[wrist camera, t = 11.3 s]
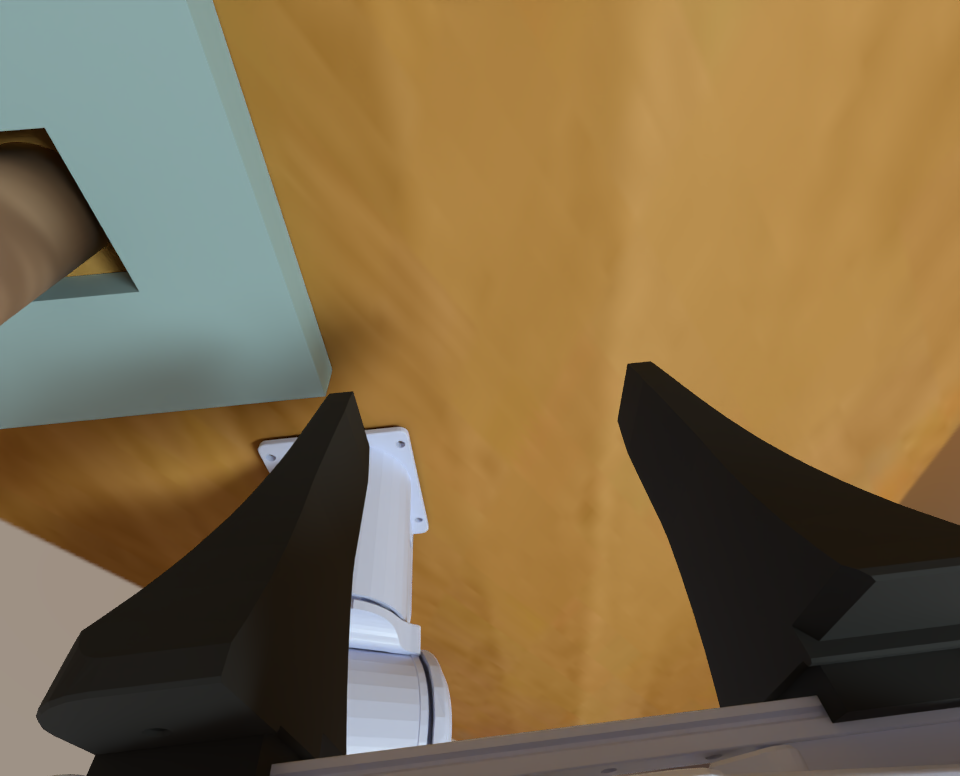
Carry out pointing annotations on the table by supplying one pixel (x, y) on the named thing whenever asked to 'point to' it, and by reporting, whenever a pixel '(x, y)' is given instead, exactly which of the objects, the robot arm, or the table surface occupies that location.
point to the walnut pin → (40, 225)
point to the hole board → (152, 222)
